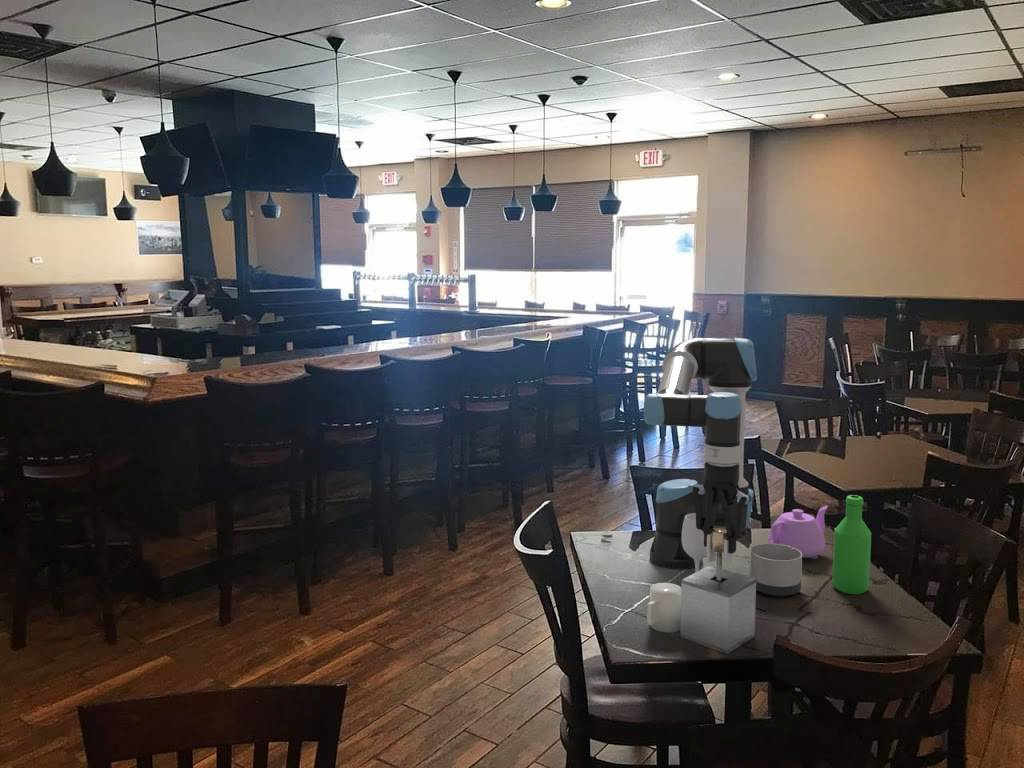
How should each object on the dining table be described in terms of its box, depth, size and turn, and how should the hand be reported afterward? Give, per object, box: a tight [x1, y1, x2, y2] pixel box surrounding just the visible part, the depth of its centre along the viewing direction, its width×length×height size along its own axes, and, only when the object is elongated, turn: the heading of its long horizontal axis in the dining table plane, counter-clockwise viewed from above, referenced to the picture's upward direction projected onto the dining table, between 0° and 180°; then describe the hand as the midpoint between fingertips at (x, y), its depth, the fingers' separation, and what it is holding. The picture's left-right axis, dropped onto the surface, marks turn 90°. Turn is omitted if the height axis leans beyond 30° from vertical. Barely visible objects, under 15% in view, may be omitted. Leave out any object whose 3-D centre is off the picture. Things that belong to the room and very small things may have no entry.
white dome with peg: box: [646, 582, 681, 633], centre depth 184 cm, size 8×11×9 cm
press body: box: [680, 565, 757, 655], centre depth 178 cm, size 12×12×14 cm
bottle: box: [831, 494, 872, 595], centre depth 203 cm, size 9×9×25 cm
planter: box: [749, 543, 803, 597], centre depth 204 cm, size 13×13×10 cm
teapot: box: [768, 505, 829, 560], centre depth 229 cm, size 22×16×14 cm
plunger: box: [711, 528, 727, 583], centre depth 177 cm, size 9×9×23 cm
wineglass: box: [682, 513, 707, 573], centre depth 201 cm, size 9×9×21 cm
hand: (719, 563), depth 177 cm, fingers closed on plunger, 4 cm apart
